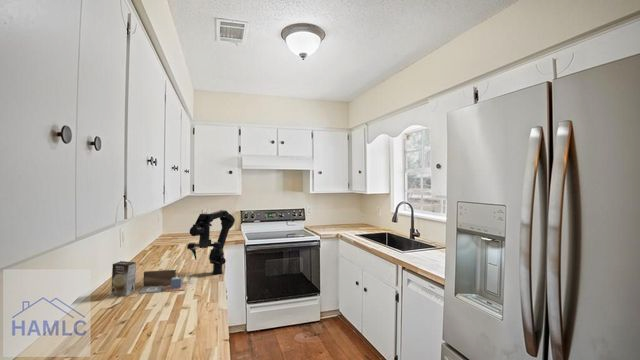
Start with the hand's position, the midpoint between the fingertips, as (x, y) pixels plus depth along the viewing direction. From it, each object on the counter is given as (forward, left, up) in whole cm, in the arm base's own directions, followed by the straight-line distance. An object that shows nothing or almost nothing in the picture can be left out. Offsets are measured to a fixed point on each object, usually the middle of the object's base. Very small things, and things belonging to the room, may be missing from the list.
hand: (203, 259), depth 188 cm
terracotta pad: (+15, -13, -12) cm, 23 cm away
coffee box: (+18, -38, -12) cm, 44 cm away
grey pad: (+15, -25, -12) cm, 32 cm away
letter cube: (+15, -13, -11) cm, 23 cm away
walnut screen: (+7, -23, -12) cm, 27 cm away
